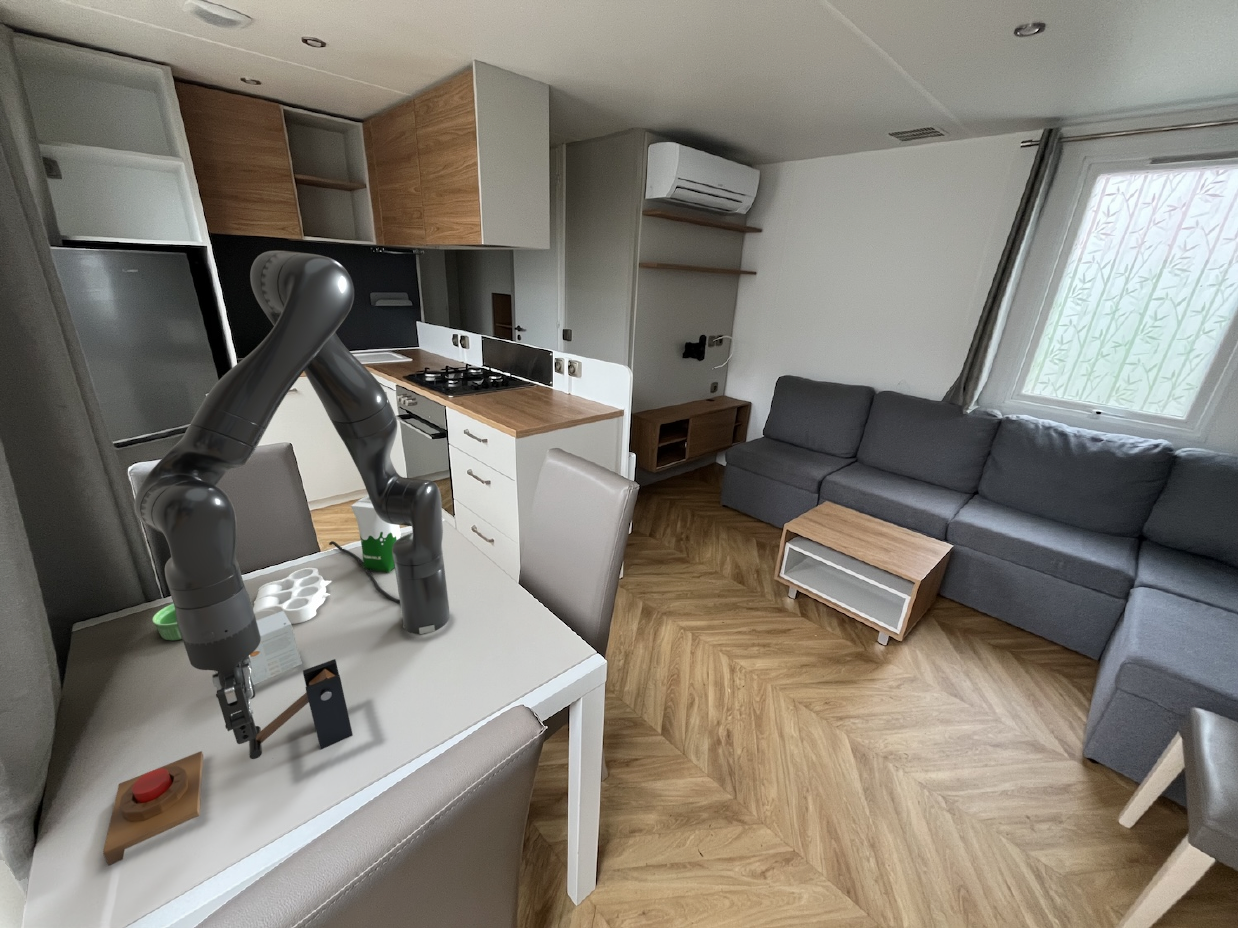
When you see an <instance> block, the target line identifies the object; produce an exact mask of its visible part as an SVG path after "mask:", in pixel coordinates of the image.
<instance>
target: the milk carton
mask: <svg viewBox="0 0 1238 928" xmlns="http://www.w3.org/2000/svg"><path fill="white" fill-rule="evenodd" d="M350 508H351V510H352V512H353V514H354V516H355V519H356V522H357V528H358V532H359V533H358V534H359V540H360V543H361V551H362V561H363V566H364V567H363V566H362V567H363V570H364V571H366V570H365V569H364V568H365V567H367V568H368V569H369V570H370V571H374V572H381V573H382V572H383V573H390V572H391V571H392V570H394V569H395V567H394V560H393V554H392V546H393V544H394V543H395V541H397V540H398V539H399V538H401V537H402V535H401V534H402V533H401V529H400V525H395V524H390V523H387V522H385V521H383V520H382V519H380V517H379V516H378V515H377V513H376V511H375V509H374V507H373V505H372V502H371V500H370V497H369V495H368V494H367V495H365V496H364V497H362V498H360V499H358V500H357V501H356V502H354V503H353V504H350Z"/></svg>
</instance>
